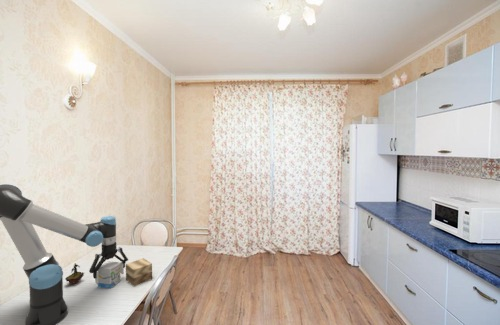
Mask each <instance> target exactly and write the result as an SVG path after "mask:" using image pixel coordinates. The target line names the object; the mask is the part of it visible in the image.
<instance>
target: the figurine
mask: <svg viewBox="0 0 500 325" xmlns="http://www.w3.org/2000/svg"><path fill="white" fill-rule="evenodd" d="M78 268H81V266H80V265H78V264H77V263H74V265H73V268H71V272H70V273H71V274H69V275H68V276H66V277H65V280H66V282H68V284H72V285H73V284H78V283H79V282H80V281H81V280H82V278H83V277H84V276H85V272H82V271H78Z"/></svg>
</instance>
